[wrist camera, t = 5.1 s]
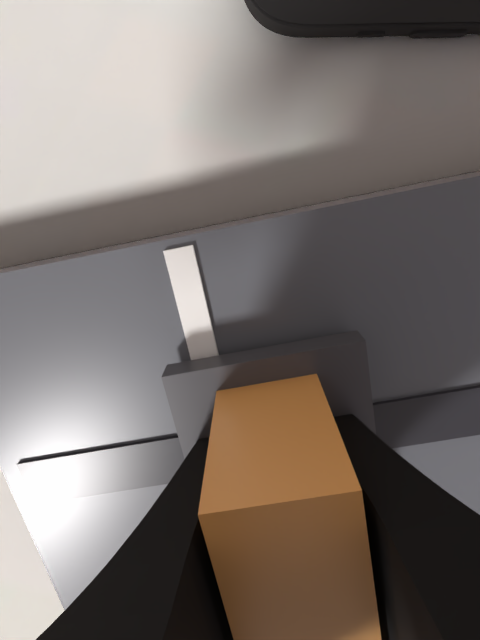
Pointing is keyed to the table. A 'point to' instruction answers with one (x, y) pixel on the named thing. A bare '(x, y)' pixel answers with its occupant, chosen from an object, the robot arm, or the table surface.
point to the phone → (368, 17)
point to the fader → (282, 485)
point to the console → (232, 350)
